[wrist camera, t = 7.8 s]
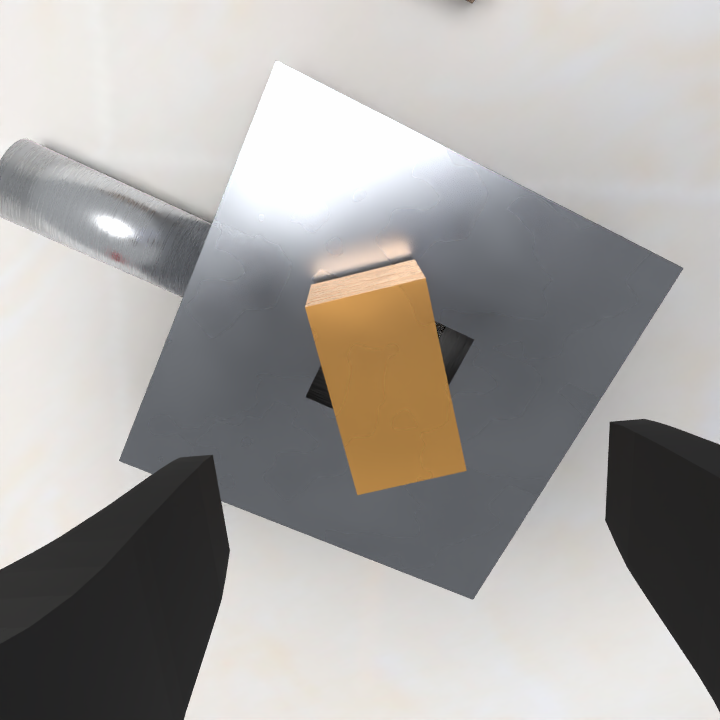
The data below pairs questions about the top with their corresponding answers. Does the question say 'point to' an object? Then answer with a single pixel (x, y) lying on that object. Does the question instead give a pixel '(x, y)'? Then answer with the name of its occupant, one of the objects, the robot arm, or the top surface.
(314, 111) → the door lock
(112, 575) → the robot arm
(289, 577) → the top surface
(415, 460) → the orange wooden block
